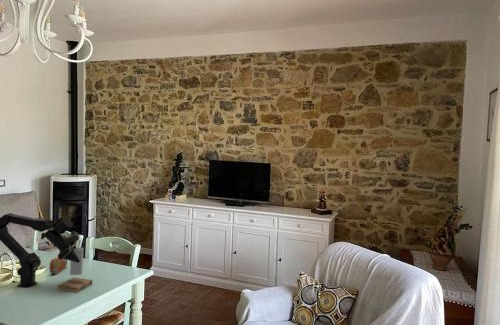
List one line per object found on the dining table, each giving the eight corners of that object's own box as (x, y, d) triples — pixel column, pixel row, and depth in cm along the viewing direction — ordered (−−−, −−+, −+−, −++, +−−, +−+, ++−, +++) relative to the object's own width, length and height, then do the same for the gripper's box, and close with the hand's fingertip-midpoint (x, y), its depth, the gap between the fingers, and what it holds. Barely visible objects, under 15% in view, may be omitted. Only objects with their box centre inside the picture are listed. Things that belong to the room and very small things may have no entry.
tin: (53, 276, 208) (54, 260, 207) (48, 275, 208) (48, 260, 207) (67, 267, 223) (67, 252, 222) (62, 266, 223) (62, 252, 222)
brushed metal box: (80, 274, 194) (81, 250, 194) (69, 275, 193) (70, 250, 192) (82, 271, 199) (83, 247, 199) (71, 271, 198) (72, 247, 197)
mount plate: (77, 292, 188) (77, 288, 188) (57, 289, 190) (57, 285, 190) (92, 283, 199) (92, 280, 199) (73, 281, 202) (73, 277, 202)
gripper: (66, 232, 185) (89, 254, 188) (73, 224, 203) (94, 244, 206) (47, 248, 183) (71, 270, 187) (56, 238, 201) (78, 259, 205)
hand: (79, 260), depth 196 cm, fingers closed on brushed metal box, 5 cm apart
